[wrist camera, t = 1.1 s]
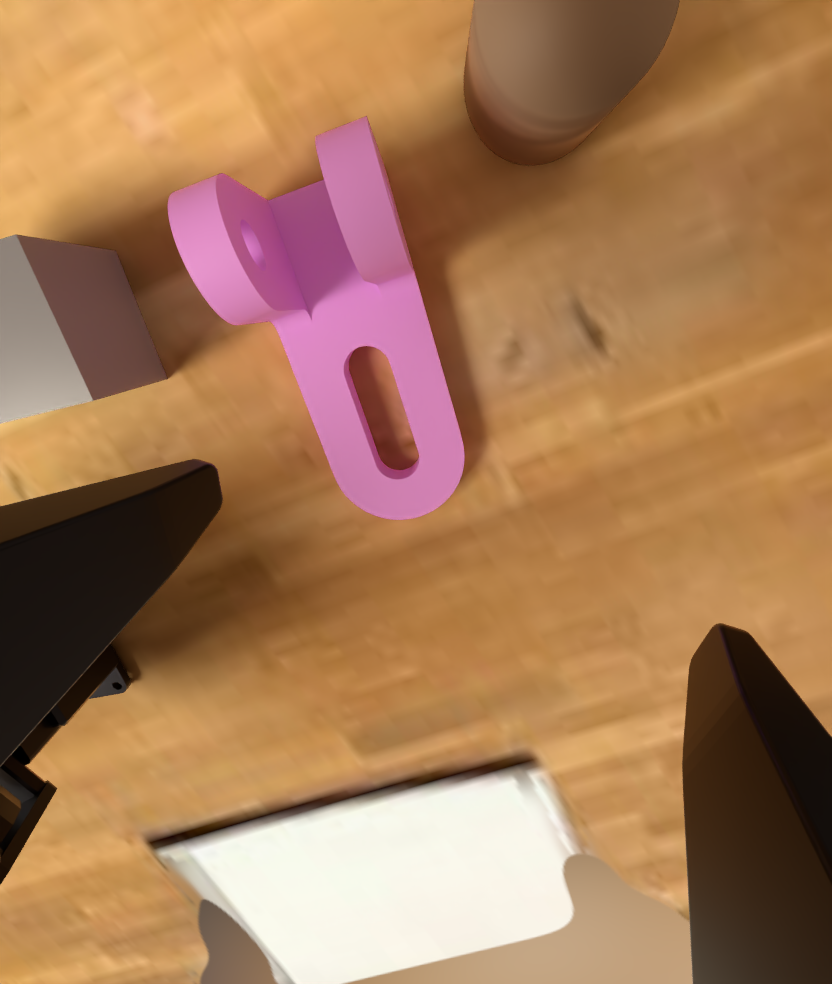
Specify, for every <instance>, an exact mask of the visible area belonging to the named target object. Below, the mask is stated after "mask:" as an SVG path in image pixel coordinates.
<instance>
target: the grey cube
mask: <svg viewBox="0 0 832 984" xmlns="http://www.w3.org/2000/svg"><path fill="white" fill-rule="evenodd" d="M165 379H168V378H167V376H166V374H165V371H164V369H163V366H162V364H161V361H160V359H159V356H158V354H157V351H156V349H155V346H154V344H153V341H152V339H151V336H150V334H149V332H148V329H147V327H146V324H145V322H144V319H143V317H142V314H141V312H140V309H139V307H138V304H137V302H136V299H135V297H134V295H133V292H132V290H131V287H130V285H129V282H128V280H127V277H126V275H125V272H124V270H123V267H122V265H121V262H120V260H119V257H118V255H117V253H116V251H114V250H108V249H102V248H96V247H90V246H83V245H77V244H71V243H65V242H59V241H53V240H46V239H40V238H34V237H28V236H22V235H13V236H9V237H6V238H3V239H0V424H1V423H5V422H9V421H13V420H17V419H21V418H25V417H29V416H33V415H37V414H41V413H45V412H49V411H53V410H57V409H61V408H65V407H70V406H74V405H78V404H82V403H86V402H90V401H94V400H97V399H101V398H104V397H107V396H111V395H114V394H118V393H121V392H124V391H128V390H131V389H135V388H138V387H142V386H145V385H148V384H152V383H155V382H159V381H162V380H165Z"/></svg>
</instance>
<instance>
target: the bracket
mask: <svg viewBox="0 0 832 984" xmlns="http://www.w3.org/2000/svg"><path fill="white" fill-rule="evenodd" d="M315 143H316V149H317V154H318V158H319V162H320V166H321V170H322V174H323V177H324V180H321V181H318V182H316V183H313V184H311V185H308V186H305V187H303V188H300V189H297V190H295V191H292V192H289V193H287V194H284V195H282V196H279V197H276V198H274V199H271V200H266V199H265V198H263V197H261V196H260V195H258V194H257V193H255V192H253V191H252V190H250V189H248V188H247V187H245V186H243V185H242V184H240V183H239V182H237V181H235V180H234V179H232V178H230V177H229V176H227V175H225V174H222V173H221V174H218V175H215V176H213V177H210V178H208V179H205V180H203V181H200V182H197V183H195V184H192V185H190V186H187V187H185V188H182V189H180V190H177V191H175V192H173V193H171V195H170V196H169V199H168V216H169V222H170V226H171V230H172V234H173V237H174V240H175V243H176V246H177V248H178V251H179V253H180V256H181V258H182V260H183V262H184V264H185V266H186V269H187V270H188V272H189V274H190V276H191V278H192V280H193V281H194V283H195V285H196V286H197V288H198V290H199V291H200V293H201V294H202V296H203V297H204V298H205V300H206V301H207V302H208V304H209V305H210V306H211V307H212V309H213V310H214V311H215V312H216V313H217V314H218V315H219V316H220V317H221V318H222V319H224V320H225V321H226V322H228V323H230V324H232V325H243V324H252V323H260V322H268V321H270V322H271V323H272V324H273V325H274V326H275V328H276V330H277V332H278V334H279V336H280V339H281V341H282V344H283V346H284V349H285V352H286V354H287V357H288V359H289V362H290V364H291V367H292V369H293V372H294V375H295V377H296V380H297V382H298V385H299V387H300V390H301V393H302V395H303V398H304V400H305V403H306V405H307V408H308V410H309V413H310V416H311V418H312V421H313V423H314V426H315V428H316V431H317V434H318V436H319V439H320V441H321V444H322V446H323V449H324V451H325V454H326V457H327V459H328V462H329V464H330V467H331V469H332V472H333V474H334V477H335V479H336V481H337V483H338V485H339V487H340V489H341V490H342V491H343V493H344V494H345V495H346V496H347V497H348V499H349V500H350V501H352V502H353V503H354V504H355V505H356V506H358V507H359V508H361V509H362V510H364V511H366V512H368V513H370V514H372V515H375V516H378V517H381V518H385V519H392V520H405V519H412V518H416V517H420V516H423V515H425V514H428V513H430V512H432V511H433V510H435V509H436V508H438V507H439V506H441V505H442V504H443V503H444V502H445V501H446V500H447V499H448V498H449V497H450V496H451V495H452V493H453V492H454V490H455V489H456V487H457V485H458V483H459V481H460V479H461V476H462V472H463V468H464V445H463V441H462V436H461V432H460V428H459V425H458V421H457V418H456V414H455V411H454V407H453V404H452V400H451V397H450V393H449V390H448V386H447V383H446V379H445V376H444V372H443V369H442V365H441V362H440V358H439V355H438V351H437V348H436V344H435V341H434V337H433V334H432V330H431V327H430V323H429V320H428V316H427V313H426V310H425V306H424V303H423V299H422V296H421V292H420V289H419V285H418V282H417V278H416V275H415V271H414V268H413V264H412V261H411V257H410V254H409V250H408V247H407V243H406V240H405V236H404V233H403V229H402V226H401V222H400V219H399V215H398V212H397V208H396V205H395V201H394V198H393V194H392V191H391V187H390V184H389V180H388V177H387V173H386V170H385V166H384V164H383V161H382V158H381V155H380V152H379V149H378V147H377V144H376V141H375V138H374V135H373V133H372V130H371V127H370V124H369V121H368V119H367V116H365V117H363V118H360V119H358V120H355V121H353V122H350V123H347V124H345V125H342V126H340V127H337V128H335V129H332V130H330V131H327V132H325V133H322V134H320V135H317V136H316V137H315ZM362 346H372V347H375V348H377V349H379V350H380V351H382V352H383V353H384V354H385V355H386V357H387V358H388V360H389V362H390V365H391V368H392V371H393V374H394V378H395V381H396V384H397V387H398V390H399V393H400V396H401V399H402V402H403V406H404V409H405V412H406V415H407V418H408V421H409V424H410V427H411V430H412V434H413V437H414V440H415V443H416V446H417V449H418V452H419V458H418V460H417V461H416V463H415V464H414V465H413V466H411V467H410V468H407V469H404V470H395V469H391V468H389V467H387V466H386V465H385V464H384V463H383V462H382V461H381V459H380V457H379V455H378V452H377V449H376V446H375V443H374V440H373V437H372V435H371V432H370V429H369V426H368V423H367V420H366V418H365V415H364V412H363V409H362V406H361V403H360V400H359V398H358V395H357V392H356V389H355V386H354V383H353V381H352V378H351V375H350V372H349V360H350V357H351V355H352V353H353V352H354V350H355V349H356V348H358V347H362Z"/></svg>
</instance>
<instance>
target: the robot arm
mask: <svg viewBox="0 0 832 984" xmlns="http://www.w3.org/2000/svg"><path fill="white" fill-rule="evenodd" d="M222 500H223V498H222V492H221V486H220V481H219V476H218V471H217V469H216V467H215V466H214V465H213V464H211V463H208V462H205V461H201V460H198V459H192V460H188V461H184V462H180V463H175V464H171V465H167V466H163V467H159V468H155V469H151V470H147V471H143V472H139V473H135V474H131V475H127V476H123V477H118V478H114V479H110V480H106V481H102V482H98V483H94V484H90V485H86V486H82V487H78V488H74V489H70V490H66V491H62V492H57V493H53V494H49V495H45V496H41V497H37V498H33V499H29V500H25V501H21V502H17V503H13V504H9V505H5V506H0V884H1V883H2V882H3V880H4V878H5V877H6V875H7V874H8V872H9V871H10V869H11V867H12V865H13V864H14V862H15V860H16V859H17V857H18V855H19V853H20V852H21V850H22V848H23V847H24V845H25V843H26V841H27V840H28V838H29V836H30V835H31V833H32V831H33V829H34V828H35V826H36V824H37V823H38V821H39V819H40V817H41V816H42V814H43V812H44V811H45V809H46V807H47V805H48V804H49V802H50V800H51V799H52V797H53V795H54V793H55V792H56V790H57V788H56V787H55V786H54V785H53V784H52V783H50V782H49V781H48V780H47V781H44V780H42V779H41V778H40V777H39V776H37V775H36V774H35V773H34V772H33V771H31V770H30V769H29V768H28V767H26V766H25V765H27V764H29V763H30V762H31V761H32V760H33V759H34V758H35V757H36V755H37V754H38V753H39V752H40V751H41V750H42V748H43V747H44V746H45V745H46V744H47V743H48V742H49V740H50V739H51V738H52V737H53V736H54V735H55V734H56V732H57V731H58V730H59V729H60V728H61V727H62V726H65V725H66V724H67V723H68V722H69V721H70V720H71V719H72V717H73V716H74V715H75V714H76V713H77V712H78V710H79V709H80V708H81V707H82V706H83V705H84V703H85V702H86V701H87V700H88V699H91V698H97V697H103V696H108V695H114V694H120V693H123V692H125V691H126V690H127V688H128V687H129V686H130V684H131V680H130V678H129V676H128V674H127V672H126V671H125V669H124V667H123V665H122V663H121V661H120V660H119V658H118V656H117V654H116V652H115V650H114V649H113V647H112V645H111V642H112V641H113V640H114V639H115V638H116V636H117V635H118V634H119V633H120V632H121V631H122V630H123V629H124V627H125V626H126V625H127V624H128V623H129V622H130V621H131V620H132V618H133V617H134V616H135V615H136V614H137V613H138V612H139V611H140V610H141V608H142V607H143V606H144V605H145V604H146V603H147V602H148V601H149V599H150V598H151V597H152V596H153V595H154V594H155V593H156V592H157V590H158V589H159V588H160V587H161V586H162V585H163V584H164V583H165V582H166V580H167V579H168V578H169V577H170V576H171V575H172V573H173V572H174V571H175V570H176V569H177V567H178V566H179V565H180V563H181V562H182V561H183V560H184V558H185V557H186V555H187V554H188V553H189V551H190V550H191V549H192V547H193V546H194V544H195V543H196V542H197V540H198V539H199V538H200V536H201V535H202V533H203V532H204V531H205V529H206V528H207V527H208V525H209V524H210V522H211V521H212V520H213V518H214V517H215V516H216V514H217V513H218V511H219V510H220V508H221V505H222ZM682 772H683V797H684V817H685V837H686V857H687V877H688V897H689V917H690V937H691V957H692V977H693V984H832V737H831V736H830V734H829V733H828V732H827V730H826V729H825V728H824V727H823V725H822V724H821V723H820V722H819V720H818V719H817V718H816V717H815V715H814V714H813V713H812V711H811V710H810V709H809V708H808V706H807V705H806V704H805V703H804V701H803V700H802V699H801V698H800V696H799V695H798V694H797V693H796V691H795V690H794V689H793V687H792V686H791V685H790V684H789V682H788V681H787V680H786V679H785V677H784V676H783V675H782V674H781V672H780V671H779V670H778V668H777V667H776V666H775V665H774V663H773V662H772V661H771V660H770V658H769V657H768V656H767V655H766V653H765V652H764V651H763V650H762V648H761V647H760V646H759V644H758V643H757V642H756V641H755V639H754V638H753V637H752V636H751V635H750V634H749V633H748V632H746V631H744V630H741V629H738V628H735V627H732V626H729V625H725V624H721V623H720V624H716V625H714V626H713V627H712V628H711V630H710V631H709V633H708V634H707V636H706V637H705V639H704V640H703V642H702V643H701V645H700V646H699V648H698V649H697V650H696V652H695V653H694V655H693V657H692V659H691V663H690V667H689V676H688V690H687V703H686V716H685V729H684V743H683V760H682Z"/></svg>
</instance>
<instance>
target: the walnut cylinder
mask: <svg viewBox="0 0 832 984" xmlns="http://www.w3.org/2000/svg"><path fill="white" fill-rule="evenodd" d="M678 5H679V0H474V5H473V12H472V19H471V26H470V33H469V40H468V47H467V55H466V62H465V70H464V97H465V103H466V108H467V112H468V115H469V118H470V121H471V123H472V125H473V127H474V129H475V131H476V133H477V134H478V136H479V137H480V139H481V140H482V141H483V142H484V144H485V145H486V146H487V147H488V148H489V149H490V150H491V151H493V152H494V153H495V154H497V155H498V156H500V157H501V158H503V159H505V160H507V161H510V162H513V163H516V164H520V165H541V164H546V163H549V162H552V161H555V160H557V159H559V158H561V157H563V156H565V155H567V154H568V153H570V152H571V151H572V150H574V149H575V148H576V147H577V146H578V145H580V144H581V143H582V142H583V141H584V140H585V139H586V137H587V136H588V135H589V134H590V133H591V132H592V131H593V130H594V129H595V128H596V127H597V126H598V125H599V124H600V123H601V122H602V120H603V119H604V118H605V117H606V116H607V115H608V114H609V113H610V112H611V111H612V110H613V109H614V108H615V107H616V106H617V105H618V103H619V102H620V101H621V100H622V99H623V98H624V97H625V96H626V95H627V94H628V93H629V92H630V91H631V90H632V89H633V88H634V86H635V85H636V84H637V83H638V82H639V81H640V80H641V79H642V78H643V76H644V75H645V74H646V73H647V72H648V70H649V69H650V68H651V66H652V65H653V63H654V62H655V61H656V59H657V57H658V56H659V54H660V52H661V50H662V48H663V47H664V45H665V43H666V40H667V38H668V36H669V34H670V31H671V29H672V26H673V23H674V20H675V17H676V14H677V9H678Z"/></svg>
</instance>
